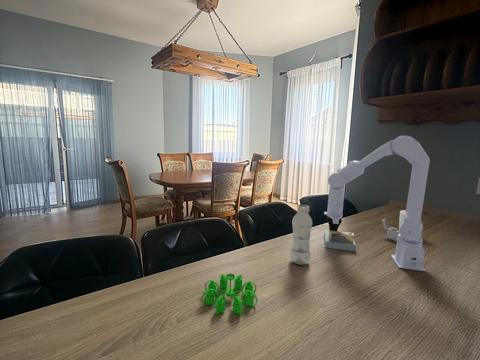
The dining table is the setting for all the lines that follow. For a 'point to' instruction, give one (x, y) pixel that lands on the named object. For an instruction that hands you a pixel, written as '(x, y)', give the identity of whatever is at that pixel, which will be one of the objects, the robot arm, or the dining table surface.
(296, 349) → the dining table surface
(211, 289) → the chandelier
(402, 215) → the white cup
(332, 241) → the blue-grey block
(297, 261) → the plastic bottle
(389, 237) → the lighter
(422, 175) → the robot arm
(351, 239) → the folding leg
